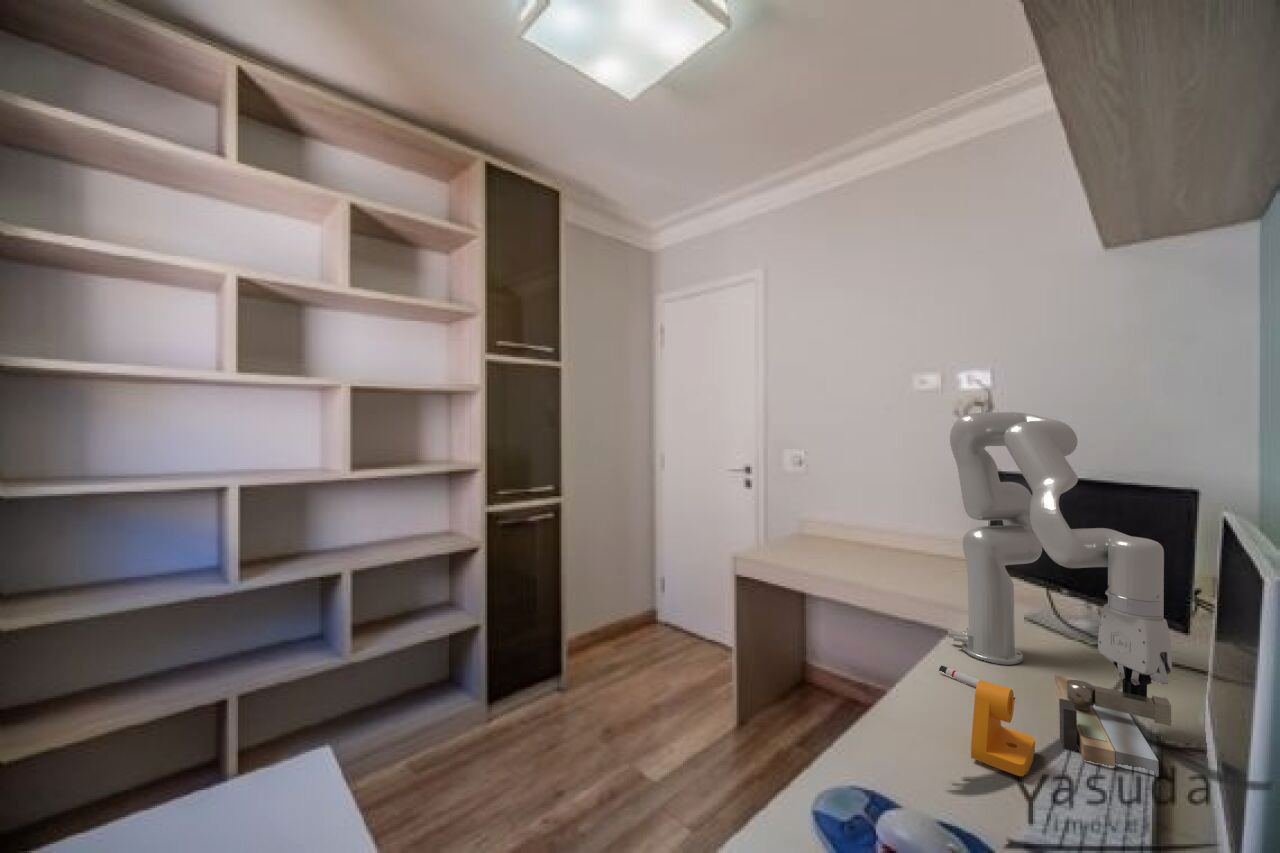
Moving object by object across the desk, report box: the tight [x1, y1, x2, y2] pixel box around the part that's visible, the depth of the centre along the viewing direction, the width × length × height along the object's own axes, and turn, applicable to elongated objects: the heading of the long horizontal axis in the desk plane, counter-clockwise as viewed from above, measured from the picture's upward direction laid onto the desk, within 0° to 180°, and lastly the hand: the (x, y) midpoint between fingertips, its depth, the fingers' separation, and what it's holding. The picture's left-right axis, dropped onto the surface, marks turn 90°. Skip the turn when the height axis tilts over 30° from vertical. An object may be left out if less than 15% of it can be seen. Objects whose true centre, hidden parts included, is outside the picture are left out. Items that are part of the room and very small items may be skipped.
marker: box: [938, 665, 1016, 701], centre depth 114 cm, size 15×2×2 cm, turn 30°
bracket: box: [970, 679, 1036, 777], centre depth 90 cm, size 11×7×12 cm, turn 134°
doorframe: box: [1054, 674, 1160, 778], centre depth 99 cm, size 12×28×7 cm, turn 149°
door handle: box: [1067, 679, 1172, 727], centre depth 96 cm, size 14×4×4 cm, turn 53°
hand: (1134, 702), depth 97 cm, fingers closed
